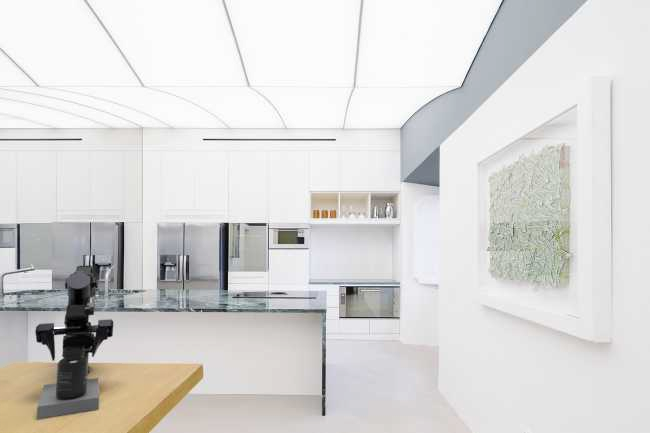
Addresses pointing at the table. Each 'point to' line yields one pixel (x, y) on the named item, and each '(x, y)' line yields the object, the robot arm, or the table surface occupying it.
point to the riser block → (67, 401)
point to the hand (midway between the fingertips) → (73, 358)
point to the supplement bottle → (72, 373)
